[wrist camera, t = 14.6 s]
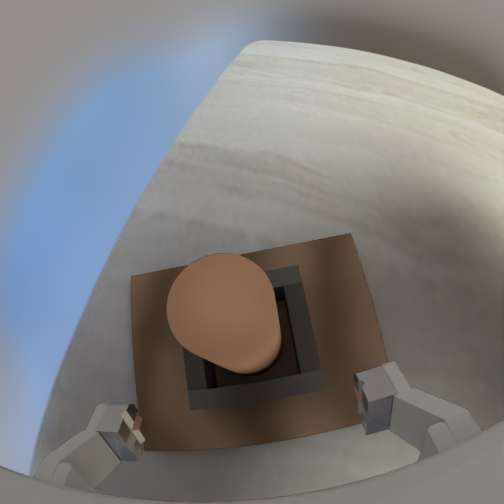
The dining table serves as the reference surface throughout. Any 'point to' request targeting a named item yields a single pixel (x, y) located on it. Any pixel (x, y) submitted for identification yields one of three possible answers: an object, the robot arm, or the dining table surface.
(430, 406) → the robot arm
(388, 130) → the dining table surface
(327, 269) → the collar stand
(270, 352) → the peg
